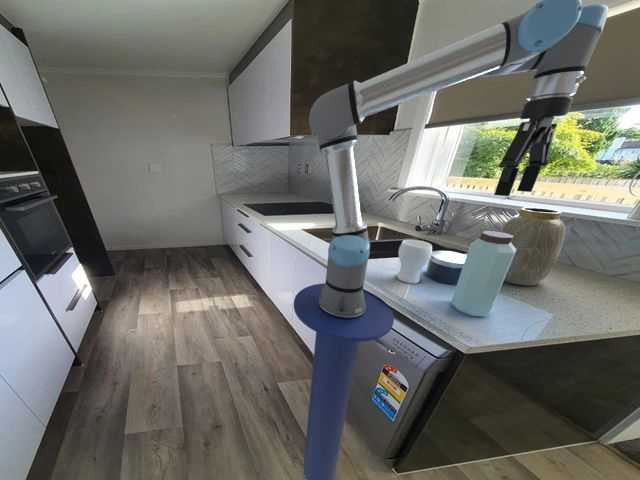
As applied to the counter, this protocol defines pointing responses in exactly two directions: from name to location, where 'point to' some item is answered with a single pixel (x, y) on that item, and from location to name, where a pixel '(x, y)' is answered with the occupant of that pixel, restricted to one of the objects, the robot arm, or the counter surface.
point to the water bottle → (483, 273)
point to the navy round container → (445, 266)
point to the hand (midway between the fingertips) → (513, 193)
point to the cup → (413, 259)
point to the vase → (534, 244)
